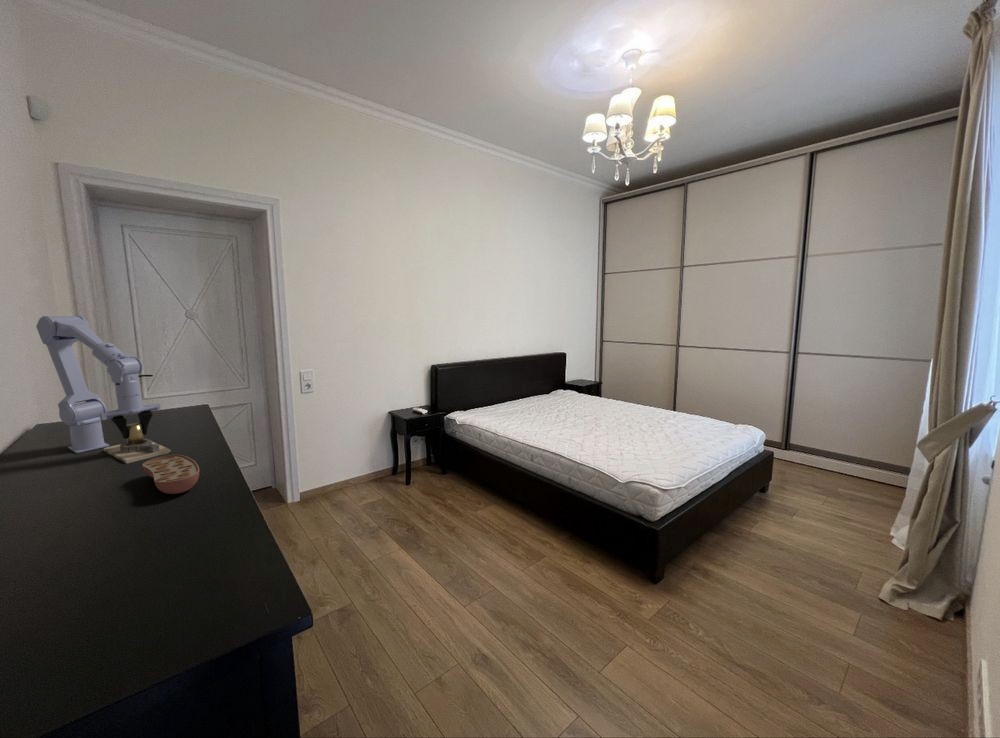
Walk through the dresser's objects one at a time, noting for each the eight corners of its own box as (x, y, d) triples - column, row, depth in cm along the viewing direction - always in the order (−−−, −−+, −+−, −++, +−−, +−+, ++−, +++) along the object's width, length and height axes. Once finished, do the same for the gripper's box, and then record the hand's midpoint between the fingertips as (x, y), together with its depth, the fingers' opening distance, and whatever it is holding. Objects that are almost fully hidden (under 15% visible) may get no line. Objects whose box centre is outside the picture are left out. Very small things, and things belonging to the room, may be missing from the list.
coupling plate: (103, 451, 131) (102, 442, 130) (146, 441, 140) (145, 433, 140) (126, 463, 121) (125, 454, 120) (170, 452, 130) (169, 443, 130)
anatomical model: (141, 478, 111) (139, 461, 110) (185, 467, 118) (183, 451, 118) (160, 504, 96) (158, 485, 96) (209, 490, 104) (207, 472, 103)
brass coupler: (125, 443, 129) (123, 425, 128) (141, 439, 133) (139, 422, 132) (130, 445, 127) (127, 427, 126) (146, 441, 131) (143, 424, 130)
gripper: (102, 401, 119) (109, 444, 121) (162, 392, 132) (167, 432, 134) (94, 398, 123) (101, 440, 125) (153, 390, 135) (158, 428, 137)
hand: (135, 436), depth 130 cm, fingers closed on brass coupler, 4 cm apart
